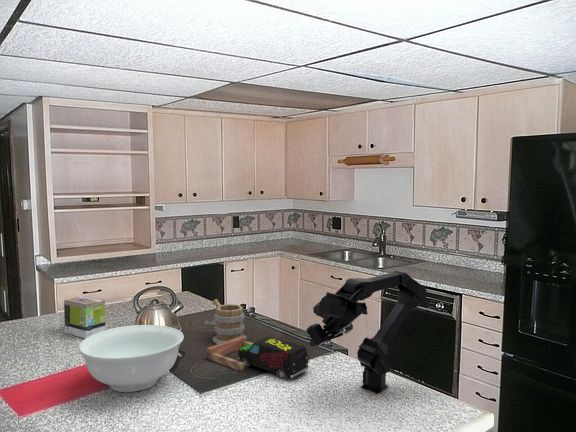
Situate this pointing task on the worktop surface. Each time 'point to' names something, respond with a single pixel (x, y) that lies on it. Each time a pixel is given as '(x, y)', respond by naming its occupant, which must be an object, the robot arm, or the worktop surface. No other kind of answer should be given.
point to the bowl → (131, 355)
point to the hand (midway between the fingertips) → (315, 342)
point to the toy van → (275, 356)
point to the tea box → (84, 316)
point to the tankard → (228, 322)
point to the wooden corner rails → (224, 348)
